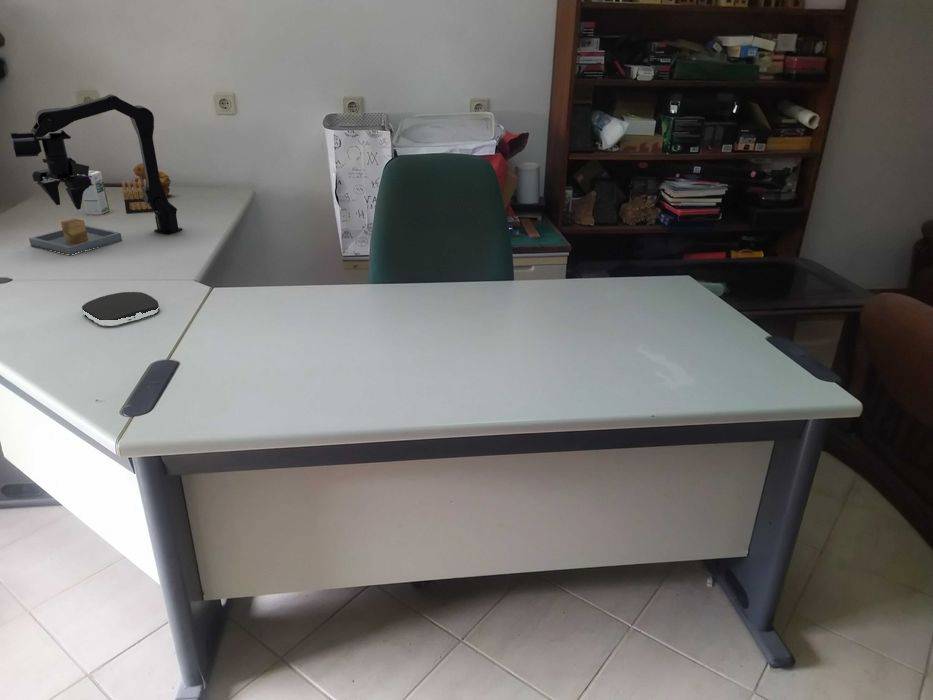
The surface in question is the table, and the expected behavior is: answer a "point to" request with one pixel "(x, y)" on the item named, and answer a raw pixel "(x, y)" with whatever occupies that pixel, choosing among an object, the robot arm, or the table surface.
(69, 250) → the tray
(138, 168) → the stuffed squirrel
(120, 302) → the media streaming box
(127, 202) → the ammunition clip
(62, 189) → the table surface
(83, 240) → the block
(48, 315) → the table surface
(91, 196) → the syrup box
